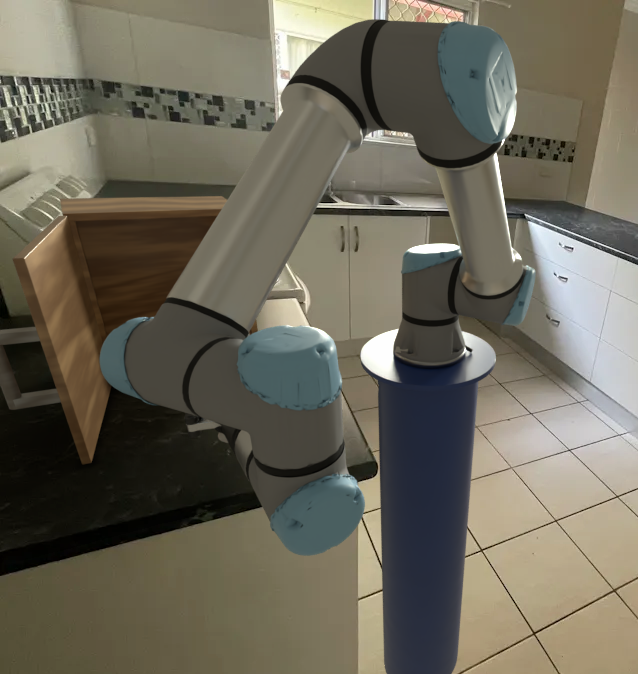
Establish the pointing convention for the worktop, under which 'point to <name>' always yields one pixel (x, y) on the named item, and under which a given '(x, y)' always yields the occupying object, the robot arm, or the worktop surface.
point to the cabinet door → (60, 335)
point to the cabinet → (136, 250)
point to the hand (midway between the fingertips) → (217, 354)
